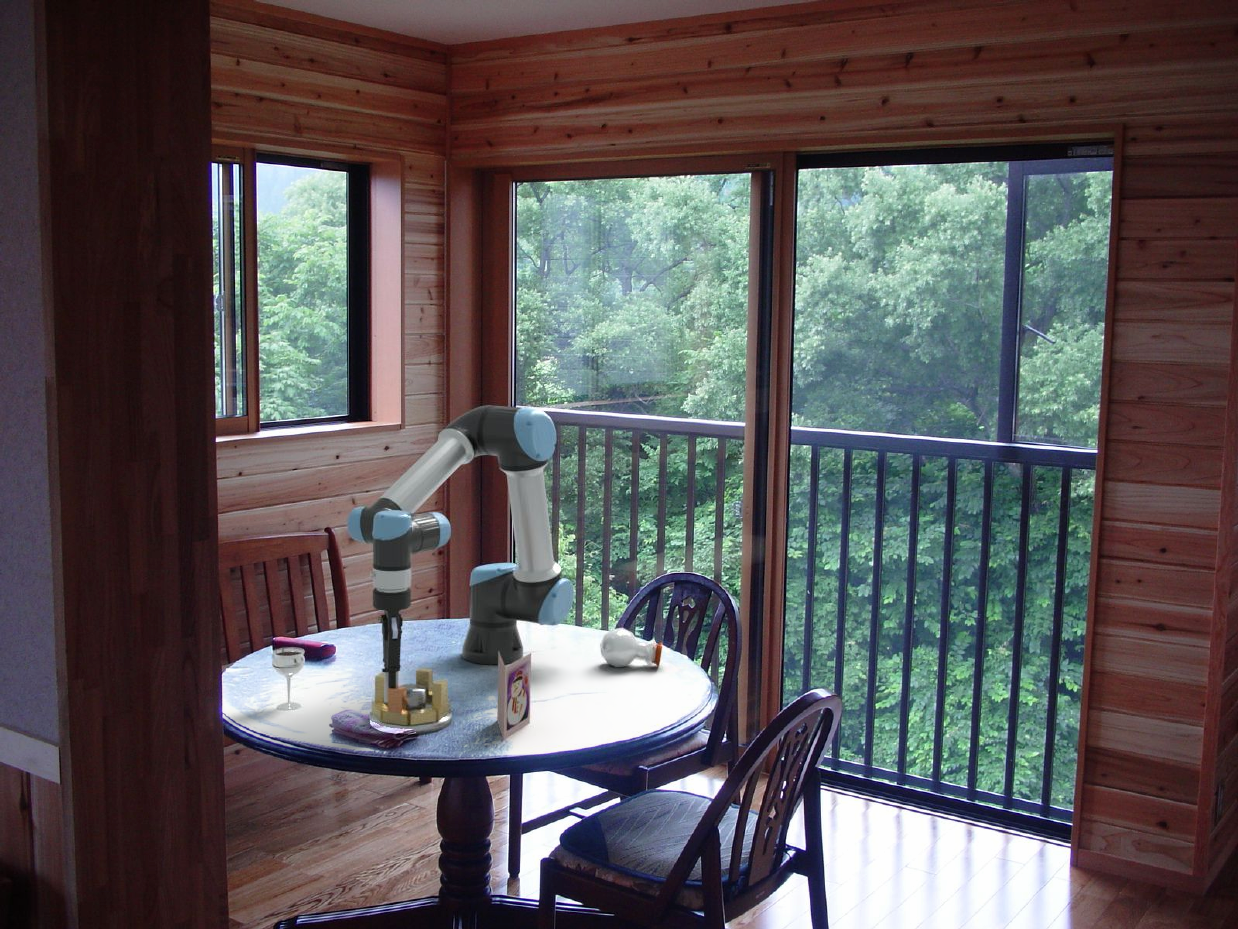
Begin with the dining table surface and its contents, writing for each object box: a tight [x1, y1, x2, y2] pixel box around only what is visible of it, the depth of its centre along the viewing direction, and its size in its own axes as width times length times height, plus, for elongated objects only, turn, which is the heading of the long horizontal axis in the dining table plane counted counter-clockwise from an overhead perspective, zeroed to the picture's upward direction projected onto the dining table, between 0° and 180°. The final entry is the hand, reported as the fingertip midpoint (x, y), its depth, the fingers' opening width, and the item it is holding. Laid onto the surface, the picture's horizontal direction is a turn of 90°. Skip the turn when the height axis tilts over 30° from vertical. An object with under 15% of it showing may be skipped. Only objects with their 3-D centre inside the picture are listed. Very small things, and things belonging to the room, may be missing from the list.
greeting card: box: [496, 651, 532, 740], centre depth 245 cm, size 11×7×15 cm, turn 157°
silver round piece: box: [368, 683, 453, 735], centre depth 248 cm, size 17×17×7 cm
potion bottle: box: [599, 627, 663, 668], centre depth 292 cm, size 9×10×15 cm
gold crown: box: [371, 667, 451, 725], centre depth 248 cm, size 15×15×7 cm
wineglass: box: [271, 647, 306, 711], centre depth 255 cm, size 7×7×12 cm
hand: (391, 701), depth 243 cm, fingers closed
